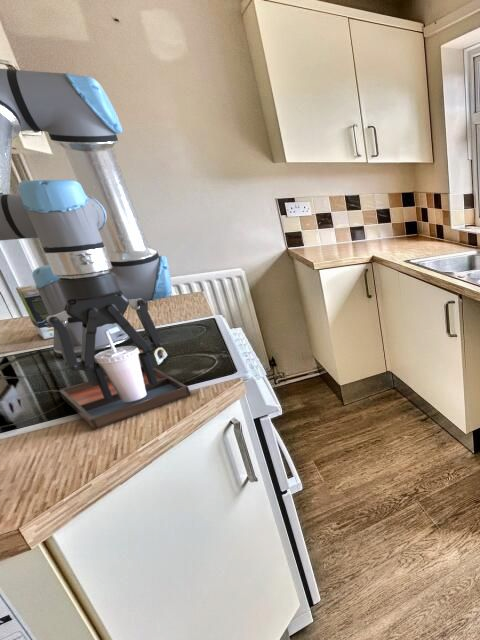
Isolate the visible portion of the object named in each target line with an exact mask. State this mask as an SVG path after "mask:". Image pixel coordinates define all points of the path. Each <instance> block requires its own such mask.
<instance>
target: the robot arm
mask: <svg viewBox="0 0 480 640" xmlns="http://www.w3.org/2000/svg"><path fill="white" fill-rule="evenodd" d="M21 132H46V133H48V136H49V138H50V141H51V142H52V143H54V144H56V145H57V146H59V147H61V148H62V149H63V151H65V154H66V157H67V159H68V161H69V164H70V167H71V168H72V172H73V173H74V176H75V179H76V180H73V179H39V180H38V179H37V180H35V179H33V180H21V181H20V182H19V183H18V184H17V190H18V193H15V194H14V193H11V192H10V190H11V175H12V174H11V173H12V171H11V170H12V157H13V156H12V155H13V154H12V153H13V140H14V139H17V137H18V136H19V135H20V133H21ZM122 133H123V127H122V124H121V121H120V119H119V117H118V114H117V112H116V110H115V108H114V106H113V104H112V102H111V100H110V98H109V96H108V95H107V93H106V91H105V90H104V88H103V86H102V85H101V84H100V82H98V80H97V79H95V78H94V77H91V76H88V75H81V74H76V73H75V74H74V73H69V72H47V71H37V70H35V71H34V70H22V69H10V68H0V241H11V240H22V239H24V240H26V239H38V240H39V243H40V245H41V248H42V250H43V252H44V255H45V257H46V259H47V262H48V264H46V265H45V264H44V265H41V266H39V267H36V268H35V269H34V270H33V271H32V274H31V275H32V278H33V281H34V285H35V284H36V289H38V292H39V294H40V296H41V298H42V300H43V303H44V305H45V307H46V309H47V311H48V313H49V315H48V316H47V317H46V320H47V321H48V322H49V323H50V325H51V326H52V327H53V328H54V337H53V351H54V354H55V355H56V356H57V357H60V358H63V362H64V364H65V367H66V368H67V369H69V370H70V371H72V372H76V371H82V372H84V375H85V376H86V377H85V378H86V379H87V382H88V381H89V383H90V384H91V385H93V386H97V385H99V387H100V389H101V392H102V394H103V396H104V398H105V399H106V400H108V401H111V400H114V399H113V397H112V394H111V392H110V390H109V387H108V385H107V382H106V380H105V378H104V377H105V375H104V372H103V370H102V368H101V366H98V365H97V364H95V359H94V356H95V355H96V354H98V353H100V352H103V351H105V350H109V349H111V347H110V345H109V342H108V340H107V338H106V335H105V333H104V331H108V332H109V334H110V337H111V339H112V342H113V344H114V346H115V348H117V347H123V346H127V345H128V344H130V342H133V343H134V344H135V345H136V347H138V349H139V350H142V351H143V352H142V353H139V354H138V355H139V358H140V360H141V363H142V366H143V368H144V371H145V374H146V376H147V379H148V381H149V383H150V384H151V385H153V386H157V385H159V384H158V382H157V379H156V376H155V374H154V371H153V368H156V369H158V367H159V365H158V363H157V361H156V358H155V355H154V353H155V350H156V349H158V348H161V347H162V348H163V347H164V342H163V341H162V339H161V336H160V334H159V332H158V330H157V328H156V326H155V323H154V322H153V319H152V317H151V315H150V313H149V303H148V302H150V301H151V302H154V301H155V300H160V299H166V298H169V297H170V296H171V295H172V292H173V287H172V279H171V273H170V272H171V271H170V266H169V261H168V257H167V256H165V255H162V254H161V255H160V254H159V252H158V250H157V248H155V247H153V246H151V245H149V244H148V242H147V239H146V235H145V233H144V231H143V228H142V225H141V222H140V220H139V217H138V214H137V211H136V208H135V206H134V203H133V200H132V197H131V194H130V191H129V189H128V186H127V183H126V181H125V178H124V175H123V172H122V169H121V168H120V164H119V162H118V158H117V156H116V154H115V149H114V148H115V147H116V145H117V144H118V143H119V138H118V135H120V134H122ZM129 306H130V308H131V309H132V310H133V311H135V313H136V315H137V317H138V319H139V321H140V323H141V325H142V328H143V330H144V331H145V333H146V335H147V338H148V341H149V343H148V342H147V340H145V339H144V338H143V337H142V335H141V334H140V332H138V331H137V330H136V329H135V328H134V327H133V325H131V322H130V321H129V320H128V319H127V318H126V317H125V316H124V315H125V314H126V311H127V309H128V307H129ZM77 357H80V361H78V359H77Z"/></svg>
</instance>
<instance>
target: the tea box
mask: <svg viewBox="0 0 480 640" xmlns="http://www.w3.org/2000/svg"><path fill="white" fill-rule="evenodd" d="M15 290H16V293H17V295H18V296H19V298H20V300H21V302H22V304H23V306H24V307H25V310H26V312H27V314H28V317H29V319H30V321H31V322H32V324H33V327H34V329H35V331H36V332H37V334H39V336H40V337H42V338H43V339H44V340H47V339H52V338H54V328H53V327H52V326H51V325H50V323H49V322H48V321H47V320H46V317H47V316H48V315H49V313H48V311H47V309H46V307H45V305H44V303H43V300H42V298H41V296H40V294H39V292H38V289H36V284H35V283H34V284H28V285H21V286H18V287H17V286H16V287H15Z"/></svg>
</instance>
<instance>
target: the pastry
mask: <svg viewBox="0 0 480 640" xmlns="http://www.w3.org/2000/svg"><path fill="white" fill-rule="evenodd" d="M138 350H139V351H140V352H139V353H142V352H143V351H142V350H141V349H138ZM154 355H155V358H156V361H157V363H158V366H159V365H161V363H163V362H164V360H165V359H166V358H167V357H168V352H167V351H166V350H165V349H164V348H163V346H162V347H161V348H158V349H156V350H155V353H154ZM138 356H139V355H138ZM139 361H140V365H141V366H142V363H141V360H140V358H139Z"/></svg>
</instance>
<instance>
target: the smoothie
mask: <svg viewBox="0 0 480 640" xmlns="http://www.w3.org/2000/svg"><path fill="white" fill-rule="evenodd" d="M104 333H105V335H106V338H107V340H108V342H109V345H110V347H111V349H109V350H105V351H103V352H100V353H97V354H95V355H94V363H95V364H98V365H99V367H100V368H101V370H102V372H103V374H105V376H107V377H108V379H109V381H110V382H111V384H112V385H113V387H114V388H115V390H116V392H117V393H118V395H119V396H120V398H121V399H122V401H123V402H131V401H135V400H138V399H141V398H143V397H145V396H146V395H147V393H146V389H145V384H144V379H143V375H142V370H141V365H140V361H139V356H138V354H139V352H140V351H139V350H140V349H139V347H138V346H137V345H123V346H121V347H117V348H115V346H114V344H113V342H112V339H111V337H110V334H109V332H108V331H104Z"/></svg>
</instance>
